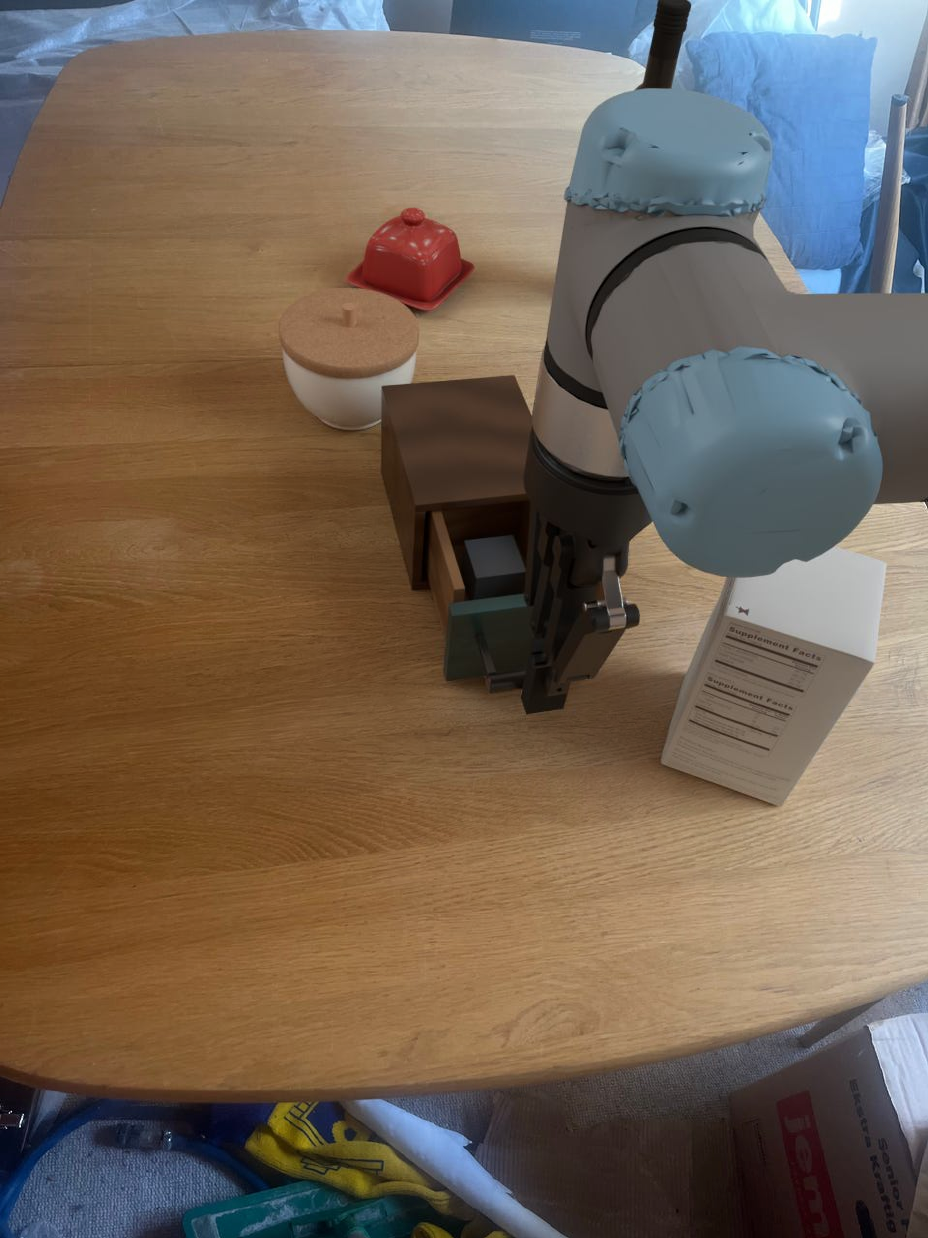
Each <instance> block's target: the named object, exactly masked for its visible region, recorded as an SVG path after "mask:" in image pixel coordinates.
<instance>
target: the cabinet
mask: <svg viewBox="0 0 928 1238" xmlns="http://www.w3.org/2000/svg"><path fill="white" fill-rule="evenodd" d="M381 393H382V394H381V422H380V474H381V478H382V481H383V486H384V490H385V493H386V497H387V501H388V505H389V510H390V513H391V515H392V521H393V525H394V528H395V531H396V537H397V539H398V543H399V547H400V551H401V554H402V555H401V556H402V558H403V563H404V566H405V571H406V574H407V578H408V582H409V585H410V590H412V591H415V590H423V589H431V588H430V585H429V581H428V578H427V574H426V570H425V567H424V563H423V543H424V526H425V512H426V511H435V510H445V509H454V508H463V507H472V506H481V505H490V504H500V503H509V502H518V501H527V500H529V499H528V497H527V495H526V492H525V489H524V482H523V476H524V469H525V463H526V457H527V450H528V444H529V438H530V432H531V428H532V426H533V422H532V412H531V411H530V408H529V406H528V404H527V401H526V399H525V397H524V394H523V392H522V390H521V387H520V385H519V382H518V380H517V377H516V376H515V374H510V375H498V376H485V377H474V378H462V379H449V380H436V381H423V382H411V383H410V384H398V385H386V386H382V387H381Z"/></svg>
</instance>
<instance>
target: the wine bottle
mask: <svg viewBox="0 0 928 1238" xmlns="http://www.w3.org/2000/svg"><path fill="white" fill-rule="evenodd" d="M691 10H692V3H691V2H690V1H689V0H657V4H656V13H655V16H654V19H653V24H652V26H653V32H652V37H651V42H650V47H649V51H648V56H647V61H646V66H645V70H644V75H643V81H642V83H641V84H638V85H637V87H636V88H634V90H639V89H647V88H659V89H673V82H674V78H675V74H676V69H677V64H678V60H679V56H680V51H681V46H682V42H683V37H684V33H685V32H686V31H687V27H688V20H689V16H690V13H691Z"/></svg>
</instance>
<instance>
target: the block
mask: <svg viewBox="0 0 928 1238" xmlns="http://www.w3.org/2000/svg"><path fill="white" fill-rule="evenodd" d="M461 577H462V580H463V584H464V587H465V591H466V595H467V598H468V601H470V600H478V599H486V598H494V597H501V596H509V595H517V594H523V589H524V583H525V578H526V568H525V566H524V563H523V560H522V558H521V555H520V552H519V549H518V547H517V544H516V541H515V539H514V536H513V535H507V536H499V537H490V538H482V539H473V540H465V541H464V546H463V555H462V565H461Z"/></svg>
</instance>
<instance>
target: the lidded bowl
mask: <svg viewBox="0 0 928 1238" xmlns="http://www.w3.org/2000/svg"><path fill="white" fill-rule="evenodd" d="M417 319H418V318H417V317H416V316H415V314H414V313H413V312H412V310H411V309H410V308H409V307H408V306H407V305H406V304H403V303H401V302H400V301H398V300H396V299H394V298H392V297H390V296H388V295H385V294H383V293H380V292H376V291H372V290H366V289H360V288H357V287H336V288H328V289H327V288H326V289H323V290H318V291H315V292H312V293H309V294H306V295H304V296H302V297H300V298H298V299H297V300H295V301H294V302H292V303H291V304H290V305H289V306H288V307H287V308H286V309H285V310H284V312H283V313H282V314H281V317H280V319H279V322H278V338H279V343H280V345H281V353H282V360H283V365H284V370H285V374H286V377H287V380H288V383H289V385H290V388H291V390H292V391H293V393H294V395H295V397H296V399H297V400H298V401H299V402H300V403H301V405H302V406H304V408H305V409H306V410H307V411H309V412H310V413H311V414H312V415H314V416H315V417H317V418H318V419H319V420H320V421H321V422H322V423H323V424H325V425H327V426H330V427H331V428H334V429H336V430H337V429H338V430H343V431H359V430H360V431H361V430H365V429H369V428H371V427H374V426H376V425H378V424H380V423H381V394H382V393H381V387H382V386H386V385H398V384H410V383H413V380H414V375H415V371H416V367H417V366H416V365H417V354H418V346H419V341H420V324H419V321H418V320H417Z"/></svg>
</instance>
